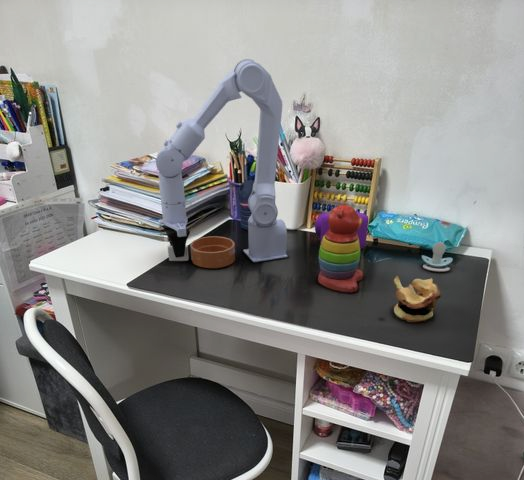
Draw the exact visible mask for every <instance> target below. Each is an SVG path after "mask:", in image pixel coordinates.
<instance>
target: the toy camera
mask: <svg viewBox="0 0 524 480" xmlns="http://www.w3.org/2000/svg"><path fill="white" fill-rule="evenodd" d="M329 213H330V211H329V212H322V213H321V214H320V215H318V217H317V219H316V221H315V225H314V232H315V234H316V236H318V237H320V240H319V241H320V244H321V242H322V239H323V236H324V235H325V234H326V232H327V231H328V230H330V229H329V225H328V215H329ZM356 213H357V214H358V215H359V216H360V218H361V219H362V224H361V226H360V228H359V229H358V230H357V231H356V233H357V234H358V238H359V244H360V250H362V249H364V248H365V246H366V243H367V239H368V237H367V236H368V230H369V229H368V228H369V216H368V215H367V214H366V213H363V212H359V211H356Z"/></svg>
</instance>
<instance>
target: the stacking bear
mask: <svg viewBox="0 0 524 480" xmlns="http://www.w3.org/2000/svg"><path fill="white" fill-rule="evenodd" d="M329 212H330V213H329ZM329 212H328V213H329V215H328V225H329V229H330V230H328V231H327V232H326V234H325V235H324V236H323V239H322V242H321V243H320V245H319V249H318V264H319V270H320V271H319V273H318V276H317V281H318V283H319V284H320V285H321V286H323V287H325V288H327V289H330V290H333V291H336V292H339V293H348V294H350V293H351V294H352V293H355V292H357V290H358V289H359V287H358V282H359V281H361V280H363V279H364V278H363V277H364V273H363V272H362V270H360V269H358V266H359V265H360V264H359V263H360V259H361V249H360V244H359V238H358V234H357V233H356V231H357V230H358V229H359V228H360V226H361V224H362V219H361V218H360V216H359V215H358V214H357V213H356V212H357V211H356V209H355V208H354V207H353V206H350V205H347V204H346V202H342V203H341V204H340V205H337V206H335V207H333V208H332V209H331V210H330V211H329Z"/></svg>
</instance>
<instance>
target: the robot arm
mask: <svg viewBox="0 0 524 480" xmlns="http://www.w3.org/2000/svg"><path fill="white" fill-rule="evenodd" d="M241 93H242V94H244V95H245V96H247V97H248V98H250V99H251V100H252V101H253V102H254V103H255V104H256V105H257V107H258V108H259V110H260V111H259V112H260V113H259V122H258V123H259V124H258V136H257V146H256V148H257V149H256V160H255V161H256V162H255V171H254V172H255V173H254V181H253V184H252V191H251V194H250V195H249V197H248V199H247V207H248V209H249V211H250V213H251V214H250V215H249V218H248V219H247V227H248V228H247V232H248V233H247V234H248V237H247V238H248V248H246V249H243V251H242V252H243V253H244V254H245V255H246V256H247V257H248V258H249V259H250V261H251V262H252V263H259V262H266V261H271V260H272V261H273V260H279V259H284V258H285V259H286V258H288V254H287V247H288V245H287V244H288V243H287V240H288V231H287V225H286V223H285V221H284V220H283V219H281V218H280V219H277V218H278V215H279V209H278V207H277V205H276V187H275V186H276V184H275V183H276V176H277V175H276V173H277V166H278V165H277V164H278V155H279V143H280V136H281V135H280V133H281V125H282V116H283V115H282V114H283V100H282V98H281V95H280V94H279V92H278V89H277V87H276V85H275V82H274V81H273V78H272V75H271V74H270V72H269V71H268V70H267V69H266V68H265V67H264V66H263V65H262V64H260V63H259V62H256V61H255V60H252V59H250V58H244V59H242V60H240V61H238V62H237V63H236V65H235V66H234V69H231V70H230V71H229V72H228V73H227V74H226V75H225V76H224V77H223V79H221V81H220V82H219V83H218V84H217V86H216V87H215V88H214V90H213V91H212V92H211V94H210V95H209V96H208V98H207V99H206V101H205V102H204V104H203V105H202V106H201V108H200V109H199V110H198V112H197V113H196V114H195V116H194V117H193V118H185V119H184V120H183V121H178V123H177V124H176V130H175V131H174V133H173V134H172V135H171V136H170V138H169V139H168V140H167V139H166V140H165V141H164V142H163V147H162V148H160V149H159V150H158V152H157V154H156V160H155V165H156V169H157V171H158V174H157V175H158V180H159V181H158V188H159V198H160V205H161V213H162V214H161V215H162V219H158V220H157V222H158V225H162V226H161V227H162V229H163V231H164V233H165V234H166V237H167V239H168V242H169V246H172V247H173V251H174V254H175V257H176V258H177V257H184V253H185V246H186V245H187V241H188V238H189V236H190V235H191V231H190V229H189V228H187V225H188V221H189V220H188V217H187V209H186V208H187V207H186V205H187V204H186V195H185V183H184V180H183V175H182V174H183V173H182V171H183V168H184V167H183V166H184V165H183V164H184V162H185V161H188V160H189V159H190V157H191V156H192V155H193V154H194V152H195V151H196V150H197V149H198V147H199V146H200V145H201V144H202V142H203V141H204V140H205V139H206V134H205V129H207V127H208V125H209V124H210V123H212V121H213V120H214V119H215V118H216V116H217V115H218V114H219V113H220V112H221V110H222V109H223V108H224V107H225V106H226V105H227V103H229V102H232V101H236V100H239V99H242V95H241Z"/></svg>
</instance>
